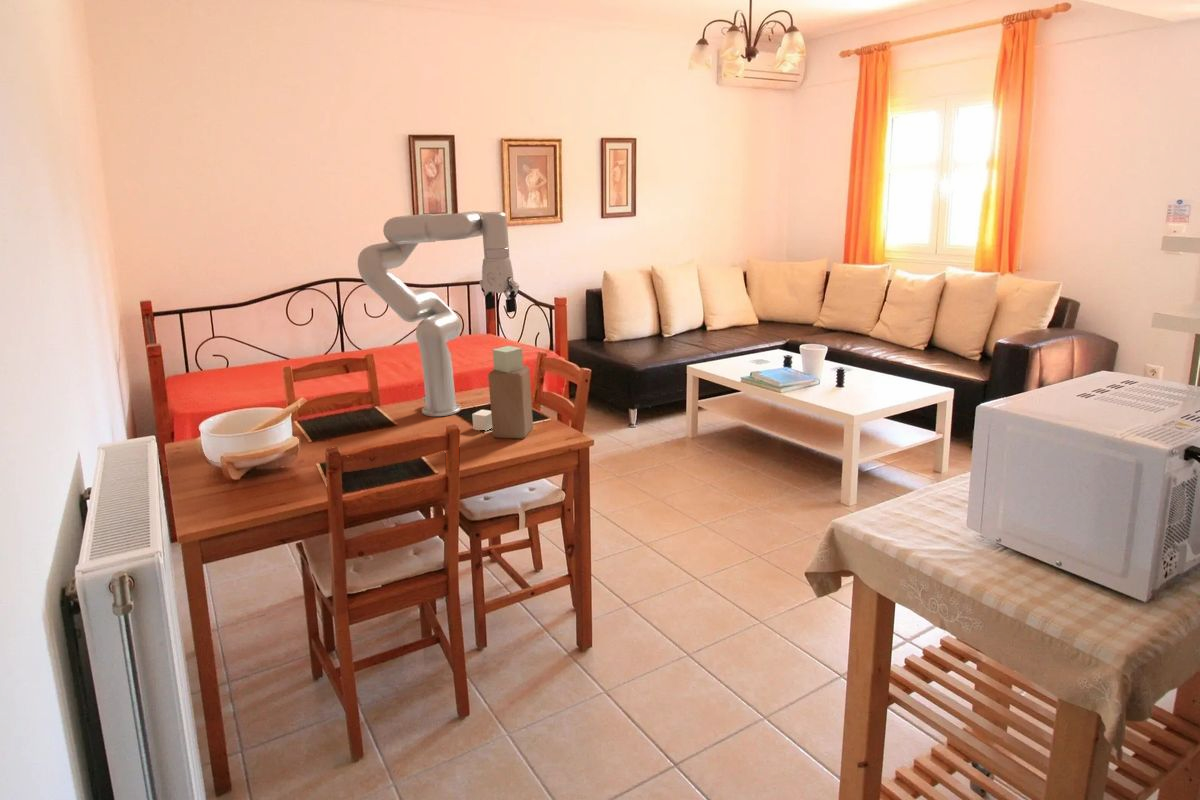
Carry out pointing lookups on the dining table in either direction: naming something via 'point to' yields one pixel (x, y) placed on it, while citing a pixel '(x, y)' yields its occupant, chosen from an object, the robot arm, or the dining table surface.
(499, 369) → the sage cube
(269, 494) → the dining table surface
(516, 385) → the block
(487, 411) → the cream cube
